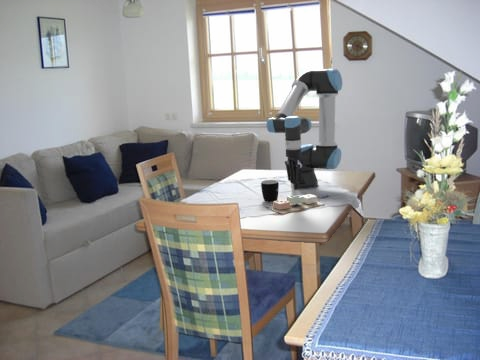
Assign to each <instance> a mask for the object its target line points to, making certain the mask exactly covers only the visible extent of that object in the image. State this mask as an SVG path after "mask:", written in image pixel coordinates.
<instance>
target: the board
mask: <svg viewBox="0 0 480 360" xmlns="http://www.w3.org/2000/svg"><path fill="white" fill-rule="evenodd" d="M320 206H321V207H322V206H325V203H323V202H320V201H318V200H317V202H315V203H311V204H305V203H300V204H295V205H293V204H290V208H287V209H283V210H279V209H276V208H274V207H273V205H269V206H267V207H268V208H270V209H269V210H271V209H273V210H275V211H277V212H276V213H278V212H279V213H278V214H281V215H284V214H285V215H286V214H288V213H292V212H299V211H303V210H306V209H307V210H308V209H312V208H315V207H316V208H317V207H320ZM268 208H267V209H268ZM273 210H272V211H273ZM275 211H274V212H275Z"/></svg>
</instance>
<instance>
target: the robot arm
mask: <svg viewBox="0 0 480 360" xmlns="http://www.w3.org/2000/svg"><path fill="white" fill-rule="evenodd" d="M342 86H343V78H342V75H341V73H340V71H339V70H338V69H337V68H330V67H329V68H316V69H314V68H312V69H309V70H308V69H307V70H306V71H303V72H302V73H301V74H300V75H298V76H297V77H296V78H295V80H294V81H293V82H292V84H291V89H290V91H289V93H288V95H287V97H286V98H285V100H284V101H283V103H282V105H281V106H280V108H279V110H278V112H277V113H276V115H275V117H269V118H268V119H267V120H266V129H267V131H268V132H269V133H273V134H285V135H284V136H285V139H284V141H285V143H284V144H285V157H286V158H287V160H286V161H284V164H285V168H286V174H287V180H288V181H289V182H290V188H291V195H292V196H298V195H299V189H301V190H302V189H314V188H317V187H318V185H319V184H318V183H319V181H318V178H317V176H316V173H315V169H320V170H321V169H322V170H335V169H337V168H338V167H339V165H340V163H341V159H342V150H341V148H339V147H338V144H337V142H336V140H335V139H336V137H335V135H336V133H335V131H336V97H338V95H339V92H340V91H341V90H342V88H343V87H342ZM309 92H315V94H316V96H317V97H318V142H316V144H313V143H310V144H309V143H307V144H302V137H301V135H302V134H305V133H308V132H310V130H311V129H312V127H313V126H312V121H311V119H310V118H308V117H300V116H298V115H294V114H295V112H296V111H297V108H298V107H299V105H300V104H301V102H302V100H303V98H304V97H305V96H307V95H308V94H309ZM314 145H315V146H314Z"/></svg>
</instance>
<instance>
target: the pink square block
mask: <svg viewBox="0 0 480 360" xmlns="http://www.w3.org/2000/svg"><path fill="white" fill-rule="evenodd" d="M272 206H273V207H274V208H276V209H279V210H283V209H287V208H290V202H289V201H287V199H283V198H282V199H279V200H278V199H277V201H273V202H272Z"/></svg>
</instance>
